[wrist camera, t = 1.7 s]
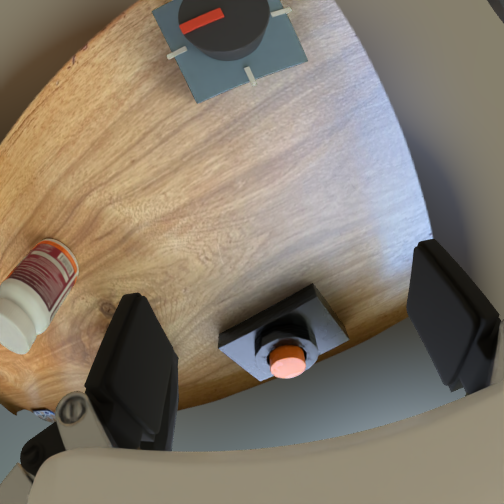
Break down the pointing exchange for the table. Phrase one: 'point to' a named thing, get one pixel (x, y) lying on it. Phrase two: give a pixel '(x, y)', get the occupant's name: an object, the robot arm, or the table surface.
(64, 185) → the table surface
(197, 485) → the robot arm
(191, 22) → the dial
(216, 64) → the panel
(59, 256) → the pill bottle
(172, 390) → the portable speaker
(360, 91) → the table surface
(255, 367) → the button block
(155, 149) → the table surface
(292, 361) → the button
